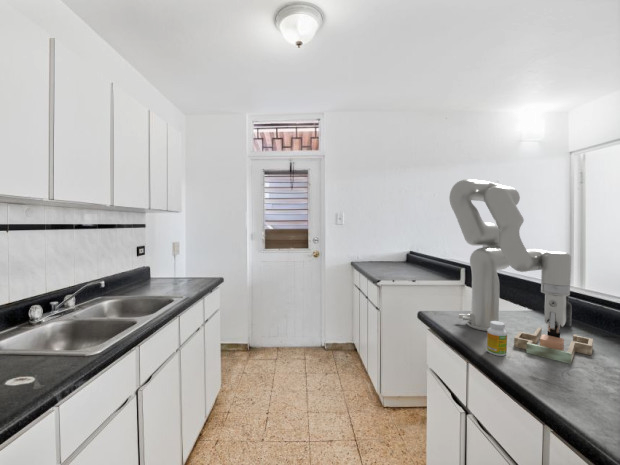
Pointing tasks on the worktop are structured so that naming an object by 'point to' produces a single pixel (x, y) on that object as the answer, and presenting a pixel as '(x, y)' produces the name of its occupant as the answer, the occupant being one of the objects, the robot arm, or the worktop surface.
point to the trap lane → (531, 340)
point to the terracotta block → (552, 342)
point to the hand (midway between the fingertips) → (553, 343)
